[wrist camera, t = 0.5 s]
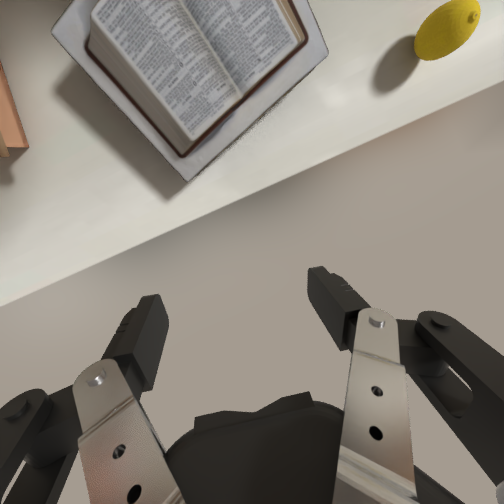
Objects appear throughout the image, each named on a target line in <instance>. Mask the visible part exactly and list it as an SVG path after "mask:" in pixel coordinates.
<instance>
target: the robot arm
mask: <svg viewBox="0 0 504 504" xmlns="http://www.w3.org/2000/svg"><path fill="white" fill-rule="evenodd" d="M307 288H308V289H307V292H308V297H309V300H310V302H311V303H312V306H313V307H314V309H315V311H316V312H317V314H318V315H319V317H320V319H321V320H322V322H323V323H324V325H325V327H326V328H327V330H328V332H329V333H330V335H331V337H332V338H333V340H334V342H335V343H336V345H337V347H338V348H339V350H340V351H343V350H348V349H349V350H350V352H351V353H352V357H351V363H350V370H349V376H348V383H347V391H346V397H345V404H344V410H343V411H342V410H341V409H339V408H337V407H335V406H333V405H330V404H327V403H324V402H319V401H313V400H312V398H311V395H310V392H309V391H308V392H304V393H299V394H295V395H291V396H286V397H282V398H280V399H278V400H277V401H275V402H273V403H271V404H269V405H268V406H266V407H264V408H262V409H260V410H259V411H257V412H237V411H220V412H216V413H212V414H207V415H202V416H198V417H195V421H194V429H192V430H190V431H189V432H187V433H186V434H184V435H183V436H182V437H181V438H180V439H178V440H177V441H176V442H175V443H174V444H173V445H172V446H171V447H170V448H169V449H168V451H166V450H165V448H164V446H163V444H162V443H161V441H160V439H159V437H158V435H157V433H156V431H155V429H154V427H153V425H152V424H151V422H150V420H149V418H148V416H147V414H146V412H145V410H144V408H143V406H142V404H141V403H140V397H141V394H142V392H146V391H150V390H152V389H153V385H154V382H155V377H156V374H157V370H158V366H159V362H160V359H161V355H162V351H163V347H164V343H165V340H166V335H167V332H168V328H169V319H168V315H167V313H166V310H165V307H164V305H163V302H162V299H161V297H160V295H159V294H154V295H148V296H143V297H142V298H141V300H140V302H139V304H138V306H137V308H132V309H131V310H130V311H129V312H128V313H127V314H126V315H125V316H124V318H123V319H122V321H121V323H120V326H119V327H118V329H117V331H116V334H114V336H113V338H112V340H111V342H110V343H109V345H108V347H107V349H106V351H105V353H104V354H103V356H102V358H101V360H100V361H98V362H95V363H94V364H92V365H90V366H89V367H87V368H86V369H85V370H84V371H83V372H82V373H81V374H80V375H79V376H78V377H77V379H76V380H75V382H74V384H73V385H70V386H68V387H66V388H64V389H62V390H59V391H57V392H55V393H53V394H51V395H47V394H46V393H45V392H44V391H43V390H42V389H32V390H29V391H26V392H24V393H22V394H20V395H18V396H17V397H15V398H13V399H12V400H10V401H9V402H8V403H7V404H5V405H4V406H3V407H2V408H1V409H0V504H1V500H2V497H3V494H4V492H5V491H6V489H7V487H8V485H9V483H10V482H11V480H12V478H13V476H14V475H15V473H16V471H17V469H18V468H19V466H20V464H21V462H22V461H23V460H24V461H26V464H25V465H24V467H23V469H22V471H21V472H20V474H19V476H18V478H17V480H16V481H15V483H14V485H13V487H12V488H11V490H10V492H9V494H8V496H7V498H6V499H5V501H4V503H3V504H57V502H58V500H59V497H60V495H61V492H62V490H63V487H64V485H65V482H66V480H67V477H68V475H69V473H70V470H71V467H72V465H73V462H74V460H75V458H76V455H77V453H78V450H79V452H80V457H81V461H82V466H83V470H84V475H85V480H86V484H87V489H88V494H89V499H90V503H91V504H465V503H463V502H462V501H461V500H460V499H458V498H457V497H455V496H454V495H453V494H451V493H450V492H449V491H448V490H446V489H445V488H444V487H442V486H441V485H440V484H439V483H437V482H436V481H435V480H433V479H432V478H431V477H429V476H428V475H427V474H425V473H424V472H423V471H422V470H420V469H419V468H418V467H416V466H415V465H414V464H413V453H412V441H411V430H410V418H409V407H408V395H407V383H406V373H407V374H409V375H410V377H411V378H412V379H413V381H414V382H415V383H416V384H417V386H418V387H419V388H420V390H421V391H422V392H423V393H424V394H425V396H426V397H427V398H428V400H429V401H430V402H431V404H432V405H433V406H434V407H435V409H436V410H437V411H438V412H439V414H440V415H441V416H442V418H443V419H444V420H445V421H446V423H447V424H448V425H449V427H450V428H451V429H452V431H453V432H454V433H455V434H456V436H457V437H458V438H459V439H460V441H461V442H462V443H463V444H464V446H465V447H466V448H467V450H468V451H469V452H470V453H471V455H472V456H473V457H474V459H475V460H476V461H477V463H478V464H479V465H480V466H481V468H482V469H483V470H484V472H485V473H486V474H487V475H488V477H489V478H490V479H491V480H492V482H493V483H494V484H495V486H496V487H497V489H496V496H497V500H498V503H499V504H504V356H502V355H501V354H500V353H499V352H497V351H496V350H495V349H493V348H492V347H491V346H490V345H488V344H487V343H485V342H484V341H483V340H482V339H480V338H479V337H478V336H477V335H475V334H474V333H473V332H471V331H470V330H469V329H467V328H466V327H465V326H464V325H462V324H461V323H460V322H458V321H457V320H456V319H454V318H452V317H451V316H448V315H446V314H444V313H440V312H436V311H424V312H421V313H420V314H419V315H418V318H417V321H416V320H400V319H395V318H394V317H393V316H392V315H390V314H389V313H388V312H386V311H384V310H381V309H377V308H371V306H370V305H369V304H368V303H367V302H366V301H365V300H364V299H363V298H362V297H361V296H360V295H359V294H358V293H357V292H356V291H355V290H353V288H352V287H351V286H350V285H348V283H347V282H346V281H345V280H344V279H343V278H342V277H340V276H338V275H336V274H335V273H332V274H330V273H329V272H328V271H327V270H326V269H325V268H324V267H323V266H319V267H313V268H309V269H308V286H307ZM449 366H450V367H451V368H452V369H453V370H454V371H455V372H456V373H457V374H458V375H460V377H461V378H462V379H463V380H464V381H465V382H466V383H467V384H468V385H469V387H470V388H471V390H472V391H471V390H470V389H469V388H468V387H467V386H466V385H465V384H464V383H463V382H462V381H461V380H460V379H459V378H458V377H457V376H456V375H455V374H454V373H453V372H452V371H451V370H450V369H449V368H448V367H449Z"/></svg>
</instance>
